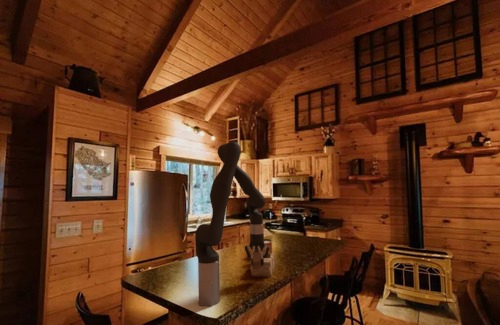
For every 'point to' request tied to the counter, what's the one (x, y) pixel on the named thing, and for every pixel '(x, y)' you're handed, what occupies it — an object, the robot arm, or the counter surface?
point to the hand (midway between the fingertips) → (257, 265)
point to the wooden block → (257, 260)
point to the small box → (268, 245)
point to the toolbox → (264, 270)
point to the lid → (268, 258)
